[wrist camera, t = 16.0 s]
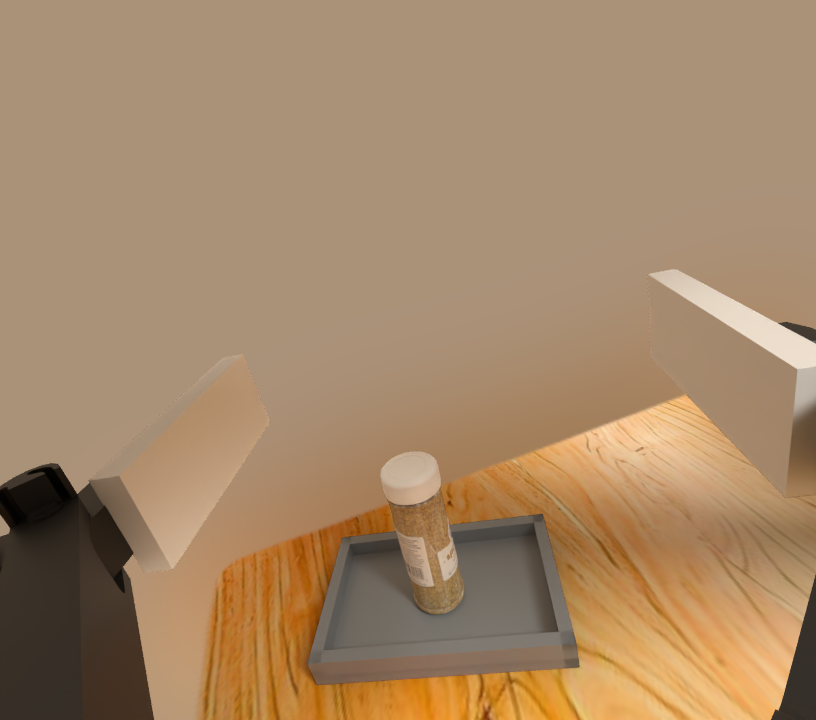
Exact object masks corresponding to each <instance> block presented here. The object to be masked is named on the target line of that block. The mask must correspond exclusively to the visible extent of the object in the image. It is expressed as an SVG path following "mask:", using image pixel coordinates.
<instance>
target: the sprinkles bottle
mask: <svg viewBox="0 0 816 720" xmlns="http://www.w3.org/2000/svg"><path fill="white" fill-rule="evenodd" d="M380 480H381V484H382V488H383V492H384V495H385V497H386V498H387V500H388V502H389V505H390V508H391V511H392V516H393V520H394V525H395V530H396V533H397V536H398V540H399V544H400V547H401V551H402V554H403V558H404V561H405V565H406V568H407V572H408V575H409V577H410V579H411V583H412V586H413V590H414V592H413V594H414V599H415V602H416V603H417V605H418V606H419V607H420V609H422V610H423V611H425V612H427V613H430V614H435V615H437V614H445V613H448V612H450V611H452V610H453V609H455V608H456V606H457V605H458V604H460V602H461V600H462V599H463V596H464V591H465V585H464V583H463V580H462V578H461V575H460V570H459V566H458V559H457V554H456V550H455V546H454V542H453V538H452V534H451V529H450V525H449V520H448V516H447V514H446V510H445V505H444V501H443V497H442V492H441V476H440V472H439V467H438V464H437V461H436V459H435V458H434V457H433V456H431V455H430V454H428V453H424V452H417V451H415V452H414V451H413V452H406V453H403V454H400V455H397V456H395V457H393V458H392V459H390V460H389V461H388V462H387V463H385V464H384V466H383V467H382V469H381V472H380Z"/></svg>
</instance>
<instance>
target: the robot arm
mask: <svg viewBox="0 0 816 720" xmlns="http://www.w3.org/2000/svg"><path fill="white" fill-rule="evenodd" d="M648 292H649V320H650V344H651V345H650V346H651V358H652V360H653V361H654V362H655V363H656V364H657V365H658V366H659V367H660V368H661V369H662V370H663V371H664V372H665V373H666V374H667V375H668V376H669V377H670V378H671V379H672V380H673V381H674V382H675V384H677V386H678V387H679V388H680V389H681V390H682V391H683V392H684V393H685V394H686V395H687V396H688V397H689V398H690V399H691V400H692V401H693V402H694V403H695V404H696V406H697V407H698V408H699V409H700V410H701V411H702V412H703V413H704V414H705V415H706V416H707V417H708V418H709V419H710V420H711V421H712V422H713V423H714V424H715V425H716V426H717V427H718V428H719V429H720V431H721V432H722V433H723V434H724V435H725V436H726V437H727V438H728V439H729V440H730V441H731V442H732V443H733V444H734V445H735V446H736V447H737V448H738V449H739V450H740V451H741V452H742V453H743V454H744V456H745V457H746V458H747V459H748V460H749V461H750V462H751V463H752V464H753V465H754V466H755V467H756V468H757V469H758V470H759V471H760V472H761V473H762V474H763V475H764V476H765V477H766V478H767V479H768V481H769V482H770V483H771V484H772V485H773V486H774V487H775V488H776V489H777V490H778V491H779V492H780V493H781V494H782V495H783V496H784V497H785V498H791V497H800V496H808V495H816V330H815V329H813V328H810V327H806V326H801V325H797V324H792V323H788V322H783V323H776V322H774V321H772V320H770V319H768V318H766V317H765V316H763V315H761V314H759V313H757V312H755V311H753V310H752V309H750V308H748V307H746V306H744V305H742V304H740V303H738V302H736V301H734V300H732V299H731V298H729V297H727V296H725V295H723V294H721V293H720V292H718V291H716V290H714V289H712V288H710V287H708V286H706V285H705V284H703V283H701V282H699V281H697V280H695V279H693V278H691V277H690V276H688V275H686V274H684V273H682V272H680V271H678V270H676V269H672V270H668V271H662V272H657V273H652V274H648ZM269 423H270V421H269V418H268V416H267V413H266V411H265V408H264V406H263V403H262V401H261V398H260V396H259V393H258V391H257V388H256V386H255V383H254V381H253V378H252V376H251V373H250V371H249V368H248V366H247V363H246V361H245V358H244V356H243V354H240V355H235V356H229V357H225V358H222V359H221V360H220V361H218V362H217V363H216V364H215V365H214V366H213V367H212V368H211V369H210V370H209V371H208V372H206V373H205V374H204V375H203V376H202V377H201V378H200V379H199V380H198V381H197V382H196V383H194V385H192V386H191V387H190V388H189V389H188V390H187V391H186V392H185V393H184V394H182V395H181V396H180V397H179V398H178V399H177V400H176V401H175V402H174V403H173V404H172V405H171V406H169V407H168V408H167V409H166V410H165V411H164V412H163V413H162V414H161V415H160V416H158V418H156V419H155V420H154V421H153V422H152V423H151V424H150V425H149V426H148V427H146V428H145V429H144V430H143V431H142V432H141V433H140V434H139V435H138V436H137V437H136V438H135V439H133V440H132V441H131V442H130V443H129V444H128V445H127V446H126V447H125V448H124V449H123V450H121V451H120V452H119V453H118V454H117V455H116V456H115V457H114V458H113V459H112V460H110V462H108V463H107V464H106V465H105V466H104V467H103V468H102V469H101V470H100V471H99V472H98V473H96V474H95V475H94V476H93V477H92V478H91V479H90V480H89V482H90V483H89V484H88V485H87V486H86V487H85V488H84V489H82V490H81V491H80V492H79V493H78V494H77V493H76V491H75V490H74V488H73V487H72V485H71V483H70V482H69V480H68V479H67V477H66V475H65V474H64V472H63V471H62V469H61V467H60V466H59V465H58V464H52V463H51V464H47V465H42V466H39V467H36V468H33V469H31V470H28V471H26V472H24V473H22V474H20V475H18V476H16V477H14V478H12V479H11V480H9V481H8V482H6V483H4V484H3V485H2V486H0V515H1V516H2V517H3V519H4V520H5V522H6V523H7V524H8V526H9V527H10V532H9V534H7V535H4V536H1V537H0V720H154V717H153V711H152V705H151V699H150V694H149V687H148V682H147V676H146V670H145V664H144V658H143V652H142V646H141V640H140V634H139V628H138V622H137V616H136V610H135V604H134V598H133V593H132V587H131V581H130V578H129V577H128V575H127V573H126V572H125V570H124V568H123V566H124V565H125V564H126V562H127V561H128V560H129V558H130V557H131V556H132V555H134V557H135V558H136V560H137V562H138V563H139V565H140V567H141V568H142V570H143V572H144V573H149V572H158V571H167V570H173V569H174V567H175V566H176V564H177V563H178V561H179V560H180V558H181V557H182V555H183V554H184V552H185V551H186V549H187V547H188V546H189V544H190V543H191V541H192V540H193V538H194V537H195V535H196V534H197V532H198V531H199V529H200V528H201V526H202V525H203V523H204V522H205V520H206V519H207V517H208V516H209V514H210V513H211V511H212V510H213V508H214V507H215V505H216V504H217V502H218V500H219V499H220V497H221V496H222V494H223V493H224V491H225V490H226V488H227V487H228V485H229V484H230V482H231V481H232V479H233V478H234V476H235V475H236V473H237V472H238V470H239V469H240V467H241V465H242V464H243V462H244V461H245V460H246V458H247V457H248V455H249V453H250V452H251V450H252V449H253V447H254V446H255V444H256V443H257V441H258V440H259V438H260V437H261V435H262V434H263V432H264V431H265V429H266V428H267V426H268V425H269ZM771 720H816V575H815V579H814V583H813V587H812V591H811V594H810V598H809V602H808V606H807V609H806V613H805V617H804V621H803V624H802V628H801V632H800V636H799V639H798V643H797V647H796V651H795V655H794V658H793V662H792V666H791V670H790V673H789V677H788V681H787V685H786V688H785V692H784V696H783V699H782V703H781V706H780V708H779V711H778V710H775V712H774V714H773V716H772V719H771Z"/></svg>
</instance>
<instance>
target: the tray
mask: <svg viewBox="0 0 816 720" xmlns="http://www.w3.org/2000/svg"><path fill="white" fill-rule="evenodd" d="M450 529H451V534H452V538H453V542H454V546H455V550H456V554H457V559H458V566H459V570H460V575H461V578H462V580H463V583H464V585H465V591H464V596H463V599H462V600H461V602H460V604H458V605H457V606H456V608H455V609H453V610H452V611H450V612H448V613H445V614H437V615H435V614H430V613H427V612H425V611H423V610H422V609H420V607H419V606H418V605H417V603H416V602H415V599H414V594H413V592H414V590H413V586H412V583H411V579H410V577H409V575H408V572H407V568H406V565H405V561H404V558H403V554H402V551H401V547H400V544H399V540H398V536H397V533H396V531H394V532H386V533H377V534H369V535H360V536H352V537H344V538H342V540H341V544H340V547H339V551H338V555H337V558H336V562H335V566H334V569H333V573H332V576H331V580H330V584H329V587H328V591H327V595H326V598H325V602H324V606H323V609H322V613H321V616H320V620H319V624H318V627H317V631H316V635H315V638H314V642H313V645H312V649H311V653H310V656H309V660H308V666H309V669H310V671H311V673H312V675H313V677H314V680H315V682H316V684H317V685H324V684H339V683H354V682H369V681H384V680H398V679H413V678H428V677H443V676H458V675H472V674H487V673H502V672H517V671H532V670H547V669H561V668H576V667H579V659H578V651H577V644H576V640H575V636H574V632H573V628H572V624H571V621H570V617H569V613H568V609H567V605H566V601H565V598H564V594H563V590H562V586H561V582H560V578H559V575H558V571H557V567H556V563H555V559H554V555H553V552H552V548H551V544H550V540H549V536H548V532H547V529H546V525H545V521H544V517H543V514H537V515H529V516H520V517H512V518H504V519H495V520H487V521H478V522H470V523H462V524H453V525H450Z"/></svg>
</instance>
